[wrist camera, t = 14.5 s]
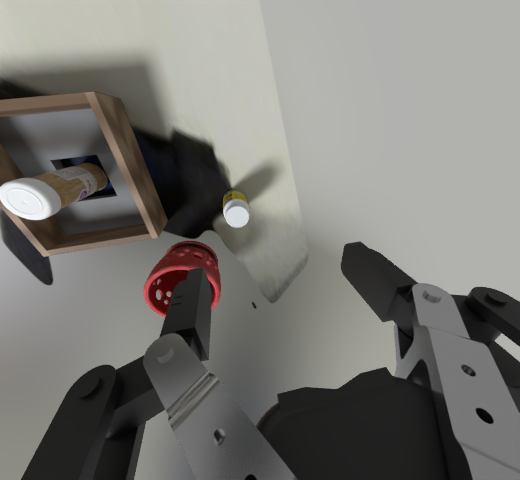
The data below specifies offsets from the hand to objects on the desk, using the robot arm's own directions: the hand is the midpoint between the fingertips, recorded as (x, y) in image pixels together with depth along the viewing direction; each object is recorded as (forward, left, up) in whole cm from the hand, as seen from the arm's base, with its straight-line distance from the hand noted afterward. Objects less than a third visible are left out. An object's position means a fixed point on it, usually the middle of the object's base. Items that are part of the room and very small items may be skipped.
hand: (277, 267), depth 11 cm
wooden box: (-2, -25, -30) cm, 39 cm away
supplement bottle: (+6, -2, -30) cm, 31 cm away
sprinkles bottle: (-2, -25, -30) cm, 39 cm away
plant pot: (+18, -14, -30) cm, 37 cm away
